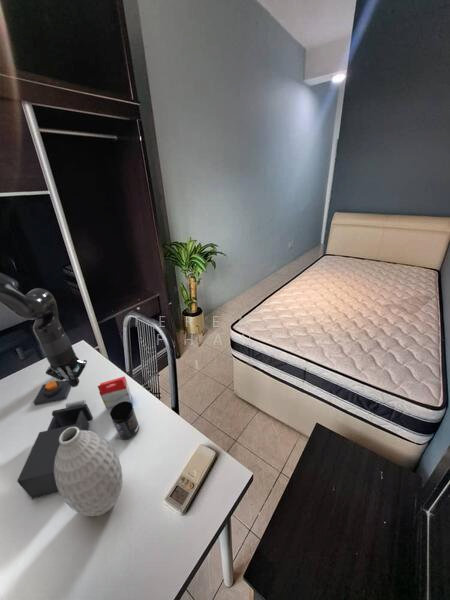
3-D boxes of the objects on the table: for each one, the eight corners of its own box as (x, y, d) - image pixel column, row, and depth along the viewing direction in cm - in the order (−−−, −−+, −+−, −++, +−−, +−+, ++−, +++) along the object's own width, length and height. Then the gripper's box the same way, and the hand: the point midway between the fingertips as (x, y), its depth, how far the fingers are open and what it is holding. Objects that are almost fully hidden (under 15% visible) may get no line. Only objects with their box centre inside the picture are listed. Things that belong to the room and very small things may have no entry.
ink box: (132, 397, 95) (123, 369, 88) (133, 407, 91) (123, 379, 84) (109, 405, 92) (97, 376, 85) (108, 416, 88) (96, 387, 81)
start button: (45, 392, 95) (43, 389, 94) (49, 385, 98) (47, 382, 97) (55, 390, 96) (53, 387, 95) (58, 383, 99) (57, 380, 98)
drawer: (65, 414, 89) (57, 400, 85) (95, 407, 90) (89, 393, 87) (46, 461, 74) (36, 447, 71) (83, 452, 76) (75, 438, 72)
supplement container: (122, 421, 86) (115, 401, 81) (142, 421, 85) (135, 400, 80) (115, 441, 80) (106, 420, 75) (135, 440, 80) (128, 419, 75)
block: (35, 405, 94) (31, 399, 92) (44, 387, 101) (41, 381, 100) (66, 399, 96) (63, 392, 94) (73, 381, 103) (70, 375, 102)
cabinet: (51, 450, 78) (39, 432, 74) (90, 440, 80) (81, 422, 76) (32, 499, 66) (16, 481, 62) (78, 486, 68) (66, 468, 64)
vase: (115, 464, 73) (85, 399, 60) (140, 494, 66) (112, 429, 53) (71, 504, 65) (24, 439, 51) (93, 544, 58) (46, 481, 44)
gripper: (82, 337, 85) (97, 373, 93) (39, 344, 82) (59, 381, 91) (75, 350, 78) (92, 389, 86) (29, 359, 76) (51, 397, 84)
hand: (75, 385), depth 89 cm, fingers closed
